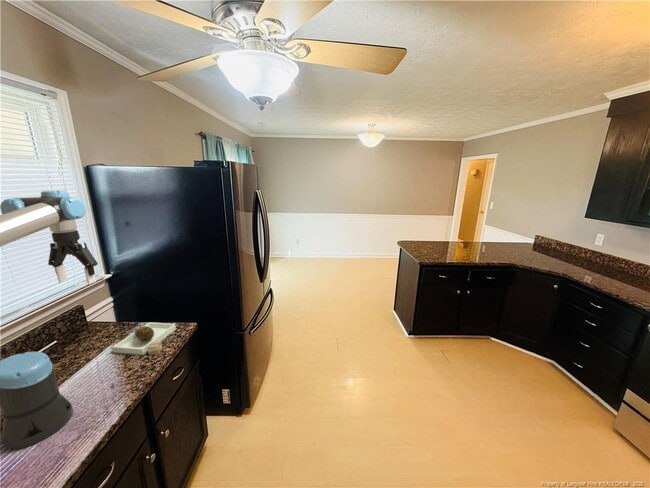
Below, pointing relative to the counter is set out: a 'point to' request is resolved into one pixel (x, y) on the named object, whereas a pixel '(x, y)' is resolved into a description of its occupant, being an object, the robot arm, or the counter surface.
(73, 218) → the robot arm
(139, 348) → the tray
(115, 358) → the counter surface
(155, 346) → the beech block
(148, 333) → the potato
